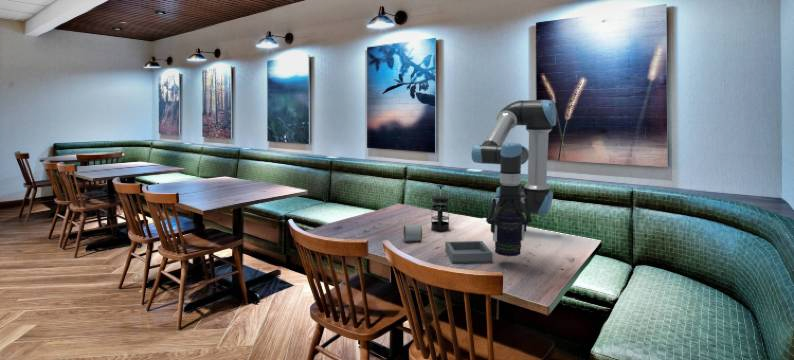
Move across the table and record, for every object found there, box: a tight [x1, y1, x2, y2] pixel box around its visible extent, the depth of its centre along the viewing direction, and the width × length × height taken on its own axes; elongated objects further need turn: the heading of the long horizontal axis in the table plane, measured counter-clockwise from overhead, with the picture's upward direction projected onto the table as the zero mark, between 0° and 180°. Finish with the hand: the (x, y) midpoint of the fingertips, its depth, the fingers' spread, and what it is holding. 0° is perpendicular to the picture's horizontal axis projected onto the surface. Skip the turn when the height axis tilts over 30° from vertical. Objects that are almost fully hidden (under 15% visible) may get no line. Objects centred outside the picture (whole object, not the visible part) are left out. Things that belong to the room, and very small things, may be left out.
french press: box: [430, 184, 450, 233], centre depth 211 cm, size 12×9×23 cm
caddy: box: [444, 240, 493, 264], centre depth 172 cm, size 16×16×4 cm
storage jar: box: [494, 212, 522, 257], centre depth 161 cm, size 10×10×15 cm
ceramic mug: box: [403, 224, 423, 242], centre depth 195 cm, size 11×8×8 cm
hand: (508, 240), depth 161 cm, fingers closed on storage jar, 10 cm apart
